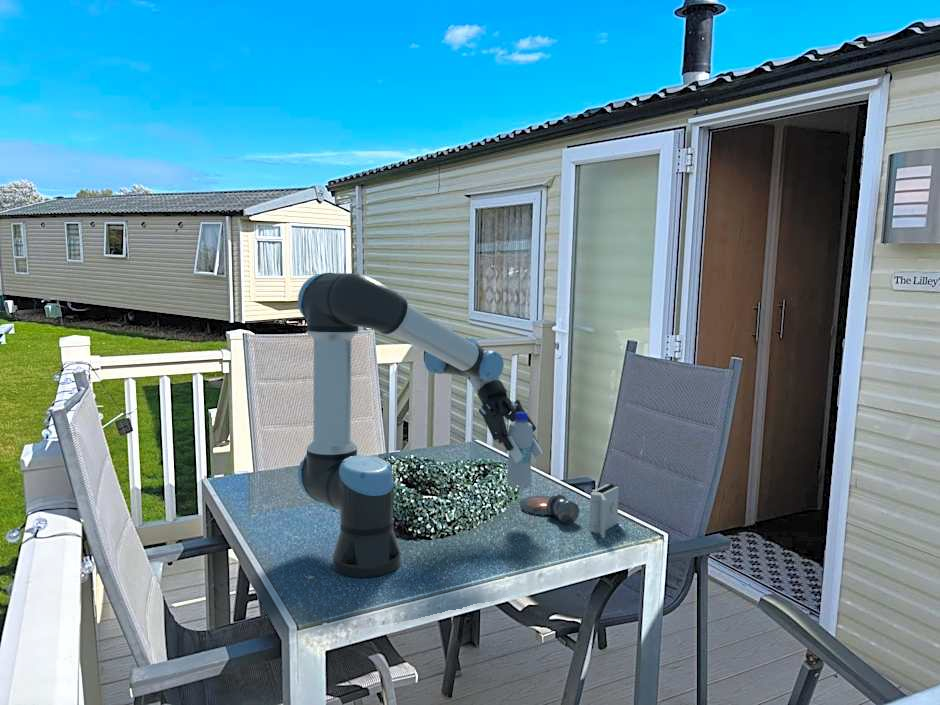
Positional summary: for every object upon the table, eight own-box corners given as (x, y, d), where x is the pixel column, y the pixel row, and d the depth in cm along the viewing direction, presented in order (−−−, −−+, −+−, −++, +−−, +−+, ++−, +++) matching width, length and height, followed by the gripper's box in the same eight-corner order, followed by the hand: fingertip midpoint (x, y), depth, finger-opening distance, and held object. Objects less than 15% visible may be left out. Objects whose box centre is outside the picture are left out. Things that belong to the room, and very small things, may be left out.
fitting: (591, 520, 180) (592, 499, 180) (545, 527, 175) (545, 504, 174) (554, 497, 199) (555, 477, 199) (511, 502, 194) (511, 481, 194)
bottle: (527, 482, 182) (529, 409, 180) (534, 490, 175) (537, 413, 173) (502, 483, 180) (505, 409, 178) (509, 491, 174) (512, 414, 172)
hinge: (604, 539, 168) (605, 500, 166) (583, 536, 170) (584, 497, 169) (619, 521, 180) (620, 485, 179) (599, 518, 182) (600, 482, 181)
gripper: (507, 392, 194) (547, 460, 183) (454, 398, 181) (494, 471, 170) (521, 376, 189) (563, 444, 178) (468, 381, 176) (509, 455, 166)
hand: (529, 457), depth 174 cm, fingers closed on bottle, 7 cm apart
